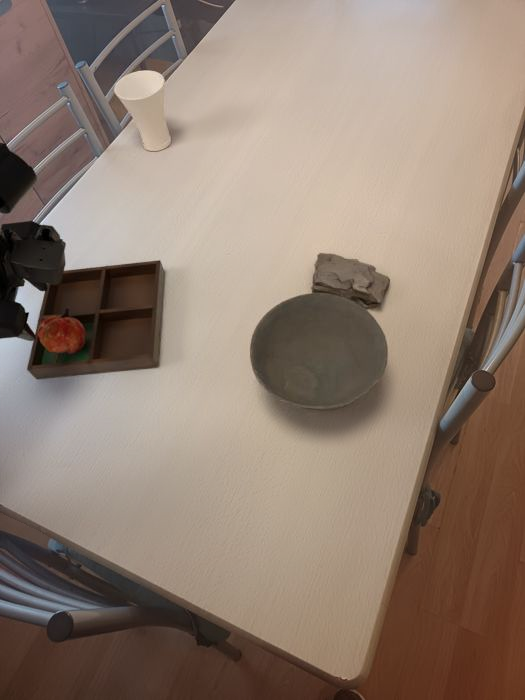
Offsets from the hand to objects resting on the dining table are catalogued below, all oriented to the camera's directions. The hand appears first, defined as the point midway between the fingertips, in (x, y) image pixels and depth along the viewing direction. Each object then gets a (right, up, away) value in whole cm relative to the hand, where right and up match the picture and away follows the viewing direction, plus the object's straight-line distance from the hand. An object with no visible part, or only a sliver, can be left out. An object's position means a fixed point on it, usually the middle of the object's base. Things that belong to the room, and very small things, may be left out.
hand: (38, 314), depth 74 cm
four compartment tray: (+6, -1, +13) cm, 14 cm away
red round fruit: (+1, -5, +10) cm, 11 cm away
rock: (+48, +6, +12) cm, 50 cm away
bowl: (+42, -10, +3) cm, 43 cm away
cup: (+10, +42, +39) cm, 58 cm away
